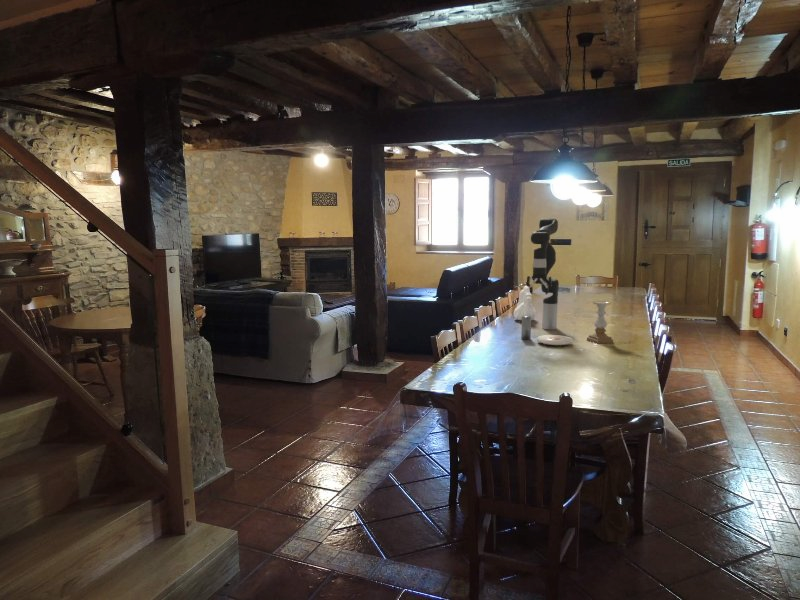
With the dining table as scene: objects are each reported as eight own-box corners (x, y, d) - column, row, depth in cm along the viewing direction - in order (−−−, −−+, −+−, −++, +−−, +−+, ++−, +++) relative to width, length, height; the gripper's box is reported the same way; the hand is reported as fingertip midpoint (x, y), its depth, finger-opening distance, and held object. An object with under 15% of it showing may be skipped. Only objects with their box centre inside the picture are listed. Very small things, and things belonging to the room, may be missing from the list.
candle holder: (586, 340, 338) (588, 301, 335) (601, 339, 341) (603, 300, 338) (598, 344, 328) (599, 303, 324) (613, 342, 331) (615, 302, 328)
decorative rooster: (514, 317, 415) (515, 284, 411) (536, 318, 411) (537, 284, 407) (511, 323, 391) (512, 288, 387) (534, 324, 387) (536, 289, 383)
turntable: (540, 336, 343) (540, 333, 342) (574, 339, 335) (574, 336, 334) (534, 343, 325) (534, 340, 324) (570, 346, 317) (570, 343, 316)
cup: (522, 337, 346) (522, 315, 344) (531, 338, 344) (531, 316, 342) (520, 339, 341) (521, 317, 339) (529, 340, 339) (530, 317, 337)
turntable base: (544, 340, 339) (544, 337, 339) (568, 342, 333) (568, 339, 333) (540, 345, 326) (540, 342, 326) (565, 347, 321) (565, 344, 320)
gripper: (553, 266, 327) (552, 293, 329) (528, 265, 332) (528, 292, 335) (551, 267, 320) (550, 295, 322) (526, 266, 326) (525, 294, 328)
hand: (538, 294), depth 329 cm, fingers open, 8 cm apart
